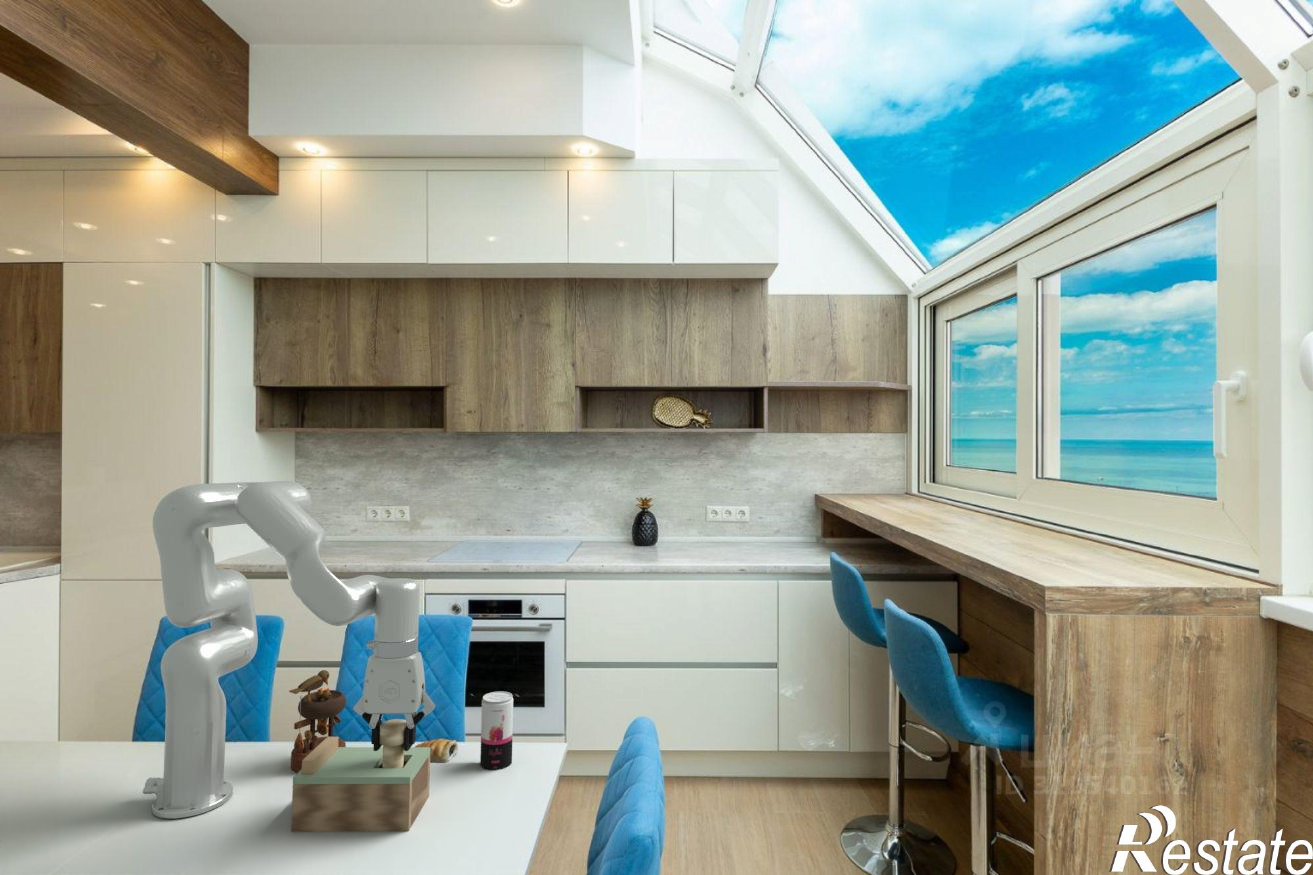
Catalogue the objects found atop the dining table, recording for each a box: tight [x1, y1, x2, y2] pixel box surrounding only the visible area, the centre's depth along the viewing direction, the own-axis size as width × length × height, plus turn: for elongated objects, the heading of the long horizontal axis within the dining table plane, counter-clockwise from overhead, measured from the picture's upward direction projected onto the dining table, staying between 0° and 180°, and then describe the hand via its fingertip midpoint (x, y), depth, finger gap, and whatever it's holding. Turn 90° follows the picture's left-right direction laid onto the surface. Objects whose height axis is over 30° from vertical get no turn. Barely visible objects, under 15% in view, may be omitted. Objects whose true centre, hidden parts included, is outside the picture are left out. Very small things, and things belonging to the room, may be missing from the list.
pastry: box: [414, 738, 459, 764], centre depth 148 cm, size 9×7×4 cm
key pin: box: [380, 718, 407, 768], centre depth 123 cm, size 5×5×16 cm
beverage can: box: [479, 690, 514, 771], centre depth 143 cm, size 6×6×15 cm
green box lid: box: [292, 736, 430, 785], centre depth 123 cm, size 20×12×4 cm, turn 92°
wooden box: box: [290, 755, 431, 833], centre depth 123 cm, size 20×12×9 cm, turn 92°
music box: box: [288, 669, 347, 774], centre depth 145 cm, size 15×11×20 cm
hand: (393, 746), depth 123 cm, fingers closed on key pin, 4 cm apart
